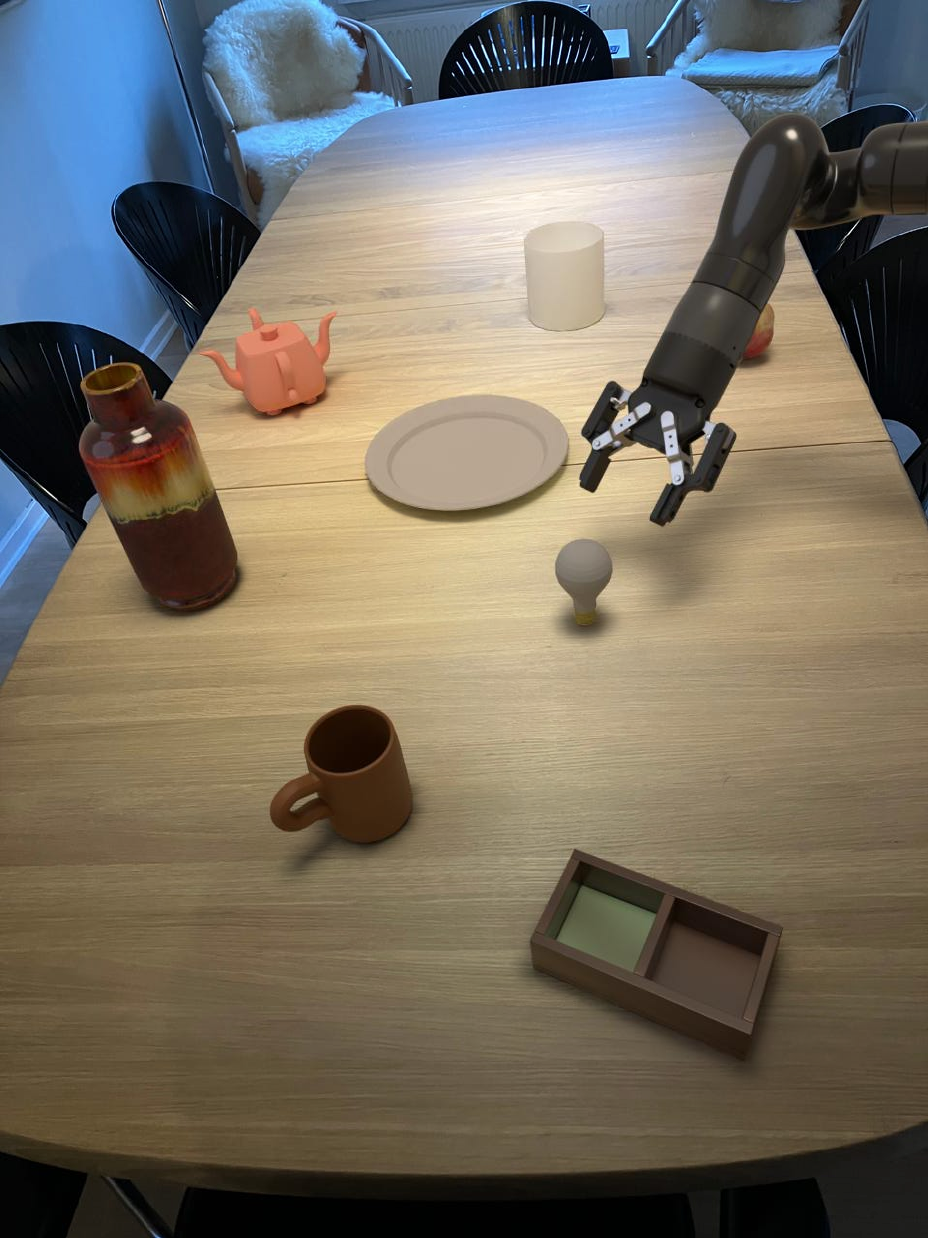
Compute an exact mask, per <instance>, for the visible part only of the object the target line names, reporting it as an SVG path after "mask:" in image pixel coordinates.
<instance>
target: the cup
mask: <svg viewBox="0 0 928 1238" xmlns="http://www.w3.org/2000/svg"><path fill="white" fill-rule="evenodd" d="M523 252H524V267H525V281H526V282H525V283H526V295H527V311H528V318H529V321H530V322H531V323H532V324H533V325H535V326H536V327H537V328H540V329H544V330H548V331H554V332H555V331H556V332H568V331H570V332H571V331H576V330H580V329H584V328H587V327H590V326H592V325H594V324H595V323H597V322H598V321H600V320H601V319H602V318H603V317H604V315H605V311H606V308H605V307H606V303H605V302H606V301H605V297H606V295H605V287H606V286H605V232H604V230H603V229H602V228H601V227H600V226H599V225H596V224H595V223H591V222H588V221H580V220H563V221H554V222H550V223H546V224H542V225H539V226H538V227H535V228H534V229H531V230H530V231H529V232H528V233H527V234H526V235H525V236H524V238H523Z"/></svg>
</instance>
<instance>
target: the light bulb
mask: <svg viewBox="0 0 928 1238" xmlns="http://www.w3.org/2000/svg"><path fill="white" fill-rule="evenodd" d="M613 570H614V567H613V558H612V557H611V554H610V553H609V551H608V549H607V548H606V547H605V546H604V545H603V544H601V543H600V542H598V541H597V540H594V539H590V538H577V539H574V540H571V541H570V542H568V543H566V545H564V546H563V547H562V548H561V549H560V551H559V553H558V554H557V555H556V559H555V562H554V574H555V577H556V580H557V582H558V584H559V585H560V587H561V588H562V590H563V591H564V592H566V594H568V595H569V597H570V598H571V599H572V607H573V615H574V616H573V619H574V622H575V623H576V624H578V625H580V626H590V625H591V624H593V623H594V622H595V621H596V616H597V615H596V613H597V611H596V608H597V605H598V604H597V598H598V597H599V596H600V594H601V593H602V592H603V591H604V590H605V589H606V587H607V586H608V584H609V583H610V581H611V578H612V575H613V572H614V571H613Z"/></svg>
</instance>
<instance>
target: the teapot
mask: <svg viewBox="0 0 928 1238" xmlns="http://www.w3.org/2000/svg"><path fill="white" fill-rule="evenodd" d="M247 312H248V315H249V317H250V321H251V324H252V329H253V330H251V331H248V332H245V333H243V334H241V335H239V336H238V337H237V338H236V340H235V352H234V353H235V354H234V357H235V359H234V361H235V369H233V368H232V367H230V366H229V365H228V363H227V360H226V359H225V358H224V356H223V355H222V353H220V352H219V351H217V350H214V349H207V350H201V351H199V352H198V355H201V356H204V357H206V358H209V359H211V360H212V362H213V363H214V364H215V365H216V366H217V368H218V370H219V372H220V375H221V377H222V378H223V380H224V382H225V383H226V384H227V385H228V386H229V387H231V388H232V389H234V390H236V391H241V392H242V393H243V396H244V397H245V398H246V399H247V401H248V402H249V403H250V404H251V406H252V407H254V409H255V410H256V411H258V412H262V413H264V412H265V413H266V414H267V415H268V416H276V415H279V414H281V413H282V412H283V409H285V408H289V407H292V406H295V405H298V404H301V403H302V404H304V405H310V404H314V403H315V402H317V401H318V398H317V396H320V395H321V394H323V392H324V391H325V389H326V384H327V383H326V382H327V378H326V373H325V370H324V367H323V366H325V364H326V363H327V362H328V359H329V358H330V354H331V342H330V325H331V323H332V321H333V319H335V317H336V315H338V311H332V312H330V313H328V314H326V315H324V316H323V317H322V318H321V320H320V322H319V326H318V338H317V342H316V343H315V345H313V344H312V343H311V341H310V340H309V338H308V336H307V335H306V334H305V332H304V331H303V330H302V328H301V327H300V326H299V325H298V324H297V323H296V322H294V321H292V320H291V321H283V322H282V321H281V322H278V323H264V321H263V318H262V317H261V315H260V312H259V311H258V310H257V309H256V308H254V307H249V308H248V311H247Z"/></svg>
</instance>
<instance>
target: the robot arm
mask: <svg viewBox="0 0 928 1238" xmlns="http://www.w3.org/2000/svg"><path fill="white" fill-rule="evenodd" d="M924 215H925V216H927V215H928V120H923V121H910V122H896V123H888V124H884V125H880V126H878V127H876V128H874V129H872V130H871V131H870V132H869V133H868V135H867V136H866V137H865V139H864V140H863V142H862V144H861V146H860V147H858V148H852V149H849V150H844V151H837V152H835V151H834V152H832V151H829V147H828V143H827V141H826V138H825V135H824V133H823V130H822V129H821V127H820V126H819V125H818V124H817V122H815V120H813V119H812V118H811V117H809V116H808V115H806V114H802V113H797V112H788V113H787V112H786V113H782V114H779V115H777V116H775V117H773V118H771V119H769V120H768V121H766V122H765V123H763V125H761V126H760V127H759V128H758V129H757V130H756V131H755V132H754V133H753V135H752V136H751V137H750V138H749V139H748V141H747V142H746V144H745V145H744V147H743V149H742V150H741V152H740V154H739V156H738V158H737V160H736V162H735V165H734V167H733V171H732V174H731V177H730V179H729V183H728V186H727V189H726V192H725V195H724V199H723V202H722V206H721V209H720V212H719V217H718V220H717V225H716V230H715V233H714V236H713V239H712V242H711V243H710V244H709V247H708V248H707V250H706V252H705V254H704V256H703V258H702V260H701V262H700V264H699V265H698V267H697V270H696V272H695V273H694V276H693V278H692V279H691V282H690V284H689V286H688V287H687V289H686V291H685V292H684V294H683V295H682V297H681V298H680V299H679V301H678V303H677V304H676V306H675V308H674V310H673V312H672V313H671V315H670V318H669V320H668V322H667V324H666V325H665V328H664V329H663V331H662V333H661V336H660V338H659V340H658V341H657V343H656V346H655V347H654V350H653V352H652V354H651V356H650V358H649V360H648V362H647V364H646V366H645V368H644V369H643V372H642V378H641V381H640V384H639V386H637V387H636V389H635V390H634V391H631V390H628V389H626V388H625V387H623V386H622V385H620V384H619V383H617V382H616V381H615V380H610V381H608V383H606V385H605V386H604V389H603V391H602V392H601V394H600V395H599V398H598V399H597V401H596V403H595V405H594V406H593V408H592V410H591V412H590V414H589V416H588V417H587V419H586V421H585V423H584V425H583V427H582V428H581V430H580V435H581V436H582V437H583V438H584V439H585V440H586V441H587V442H588V443H589V445H590V446H591V447H590V448H591V450H590V453H589V455H588V457H587V458H586V461H585V462H584V465H583V466H582V469H581V471H580V473H579V477H578V480H579V484H578V485H579V488H581V489H583V490H584V491H587V492H589V493H591V494H594V493H596V491H598V488H599V486H600V484H601V482H602V480H603V477H604V475H605V473H606V472H607V470H608V467H609V466H610V464H611V462H612V459H611V458H610V457H612V456H614V455H615V454H616V453H618V452H620V451H621V450H623V449H624V448H630V447H632V446H634V445H636V444H637V443H638V444H639V445H641V446H643V447H645V448H648V449H654V450H656V451H657V452H659V453H660V454H662V455H664V456H666V459H667V462H668V464H669V472H670V479H671V483H668V482H666V484H665V485H664V487H663V489H662V491H661V493H660V495H659V498H658V499H657V501H656V503H655V505H654V507H653V509H652V511H651V513H650V515H649V517H648V519H649V522H650V523H651V522H652V523H653V524H655V525H657V526H659V527H662V528H664V527H665V526H666V525H667V524H668V523H669V524H670V523H671V522H673V521H674V520H675V518H676V516H677V514H678V512H679V510H680V509H681V506H682V505H683V502H684V501H685V499H686V497H687V495H688V494H689V493H691V492H703V493H707V494H709V493H711V492H712V491H713V490H714V488H715V486H716V483H717V482H718V479H719V477H720V474H721V472H722V471H723V468H724V466H725V464H726V462H727V460H728V458H729V456H730V453H731V451H732V448H733V446H734V444H735V442H736V440H737V435H738V434H737V433H736V431H734V429H733V428H731V427H730V426H729V425H728V424H726V423H724V422H718V423H715V422H711V415H712V413H713V412H714V411H715V409H716V408H717V407H718V406H719V404H720V402H721V400H722V398H723V396H724V394H725V392H726V390H727V389H728V386H729V385H730V383H731V381H732V379H733V377H734V375H735V373H736V371H737V369H738V367H739V365H740V363H741V362H742V360H744V359H743V357H744V355H745V352H746V350H747V348H748V346H749V344H750V341H751V339H752V337H753V334H754V331H755V328H756V326H757V323H758V321H759V318H760V316H761V314H762V312H763V310H764V308H765V307H766V305H767V303H768V302H769V301H770V299H771V297H772V295H773V293H774V291H775V289H776V287H777V285H778V284H779V281H780V279H781V277H782V275H783V272H784V269H785V266H786V240H787V235H788V232H789V230H793V231H807V230H808V231H809V230H815V229H821V228H826V227H831V226H835V225H840V224H844V223H845V224H846V223H850V222H855V221H858V220H861V219H865V218H868V217H872V216H924ZM768 304H769V303H768ZM626 406H627V414H626V415H625V416H623V417H621V418H620V419H618V420H617V421H615V420H616V418H617V417H618V414H619V413H620V412H622V411H623V410H625V409H626ZM702 437H704V444H705V446H704V449H703V451H702V453H701V456H700V457H699V460H698V462H697V465H696V466H695V469H694V468H693V467H694V465H695V462H694V454H693V446H692V443H695V442H696V441H697V440H699V439H701V438H702ZM693 469H694V470H693Z"/></svg>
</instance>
